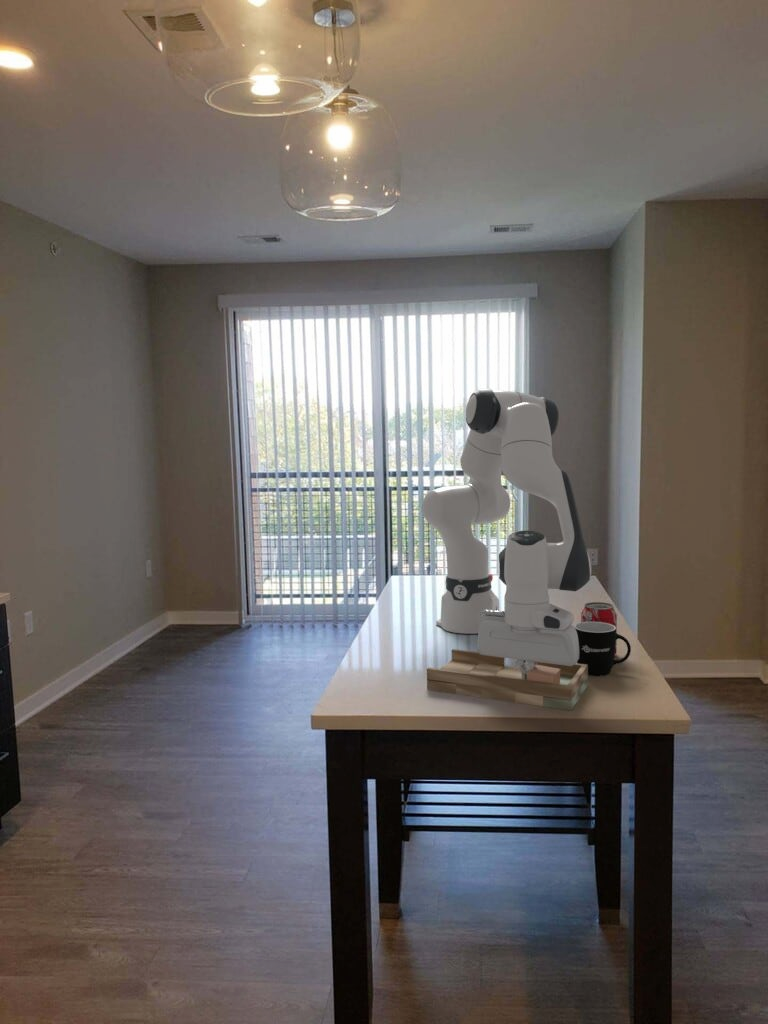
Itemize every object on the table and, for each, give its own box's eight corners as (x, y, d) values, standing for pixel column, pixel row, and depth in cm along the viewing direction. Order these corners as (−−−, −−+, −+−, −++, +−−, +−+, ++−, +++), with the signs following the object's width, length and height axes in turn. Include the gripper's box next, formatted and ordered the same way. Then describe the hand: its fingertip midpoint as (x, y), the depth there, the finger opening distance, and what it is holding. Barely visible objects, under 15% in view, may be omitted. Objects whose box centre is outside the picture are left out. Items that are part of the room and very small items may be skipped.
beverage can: (616, 661, 172) (617, 610, 171) (580, 659, 174) (580, 608, 173) (616, 651, 180) (616, 602, 178) (581, 649, 182) (581, 600, 181)
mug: (574, 677, 162) (574, 631, 161) (573, 664, 171) (573, 620, 170) (632, 680, 159) (632, 633, 158) (628, 666, 168) (629, 622, 167)
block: (535, 683, 152) (536, 664, 152) (559, 688, 150) (560, 668, 149) (527, 691, 148) (528, 671, 147) (552, 696, 146) (553, 676, 145)
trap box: (453, 668, 170) (453, 649, 170) (587, 685, 157) (587, 664, 156) (427, 689, 157) (426, 668, 156) (571, 710, 143) (571, 687, 143)
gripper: (472, 612, 151) (472, 678, 153) (573, 622, 142) (573, 693, 143) (482, 605, 157) (483, 669, 158) (581, 614, 147) (581, 682, 149)
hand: (527, 680), depth 151 cm, fingers closed
